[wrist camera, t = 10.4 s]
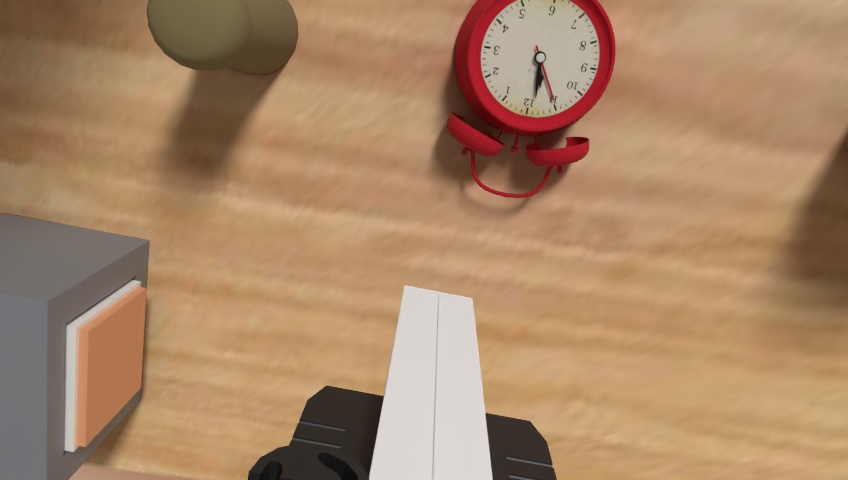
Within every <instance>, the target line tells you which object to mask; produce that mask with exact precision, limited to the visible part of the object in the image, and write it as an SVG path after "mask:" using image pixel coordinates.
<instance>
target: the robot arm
mask: <svg viewBox="0 0 848 480" xmlns="http://www.w3.org/2000/svg"><path fill="white" fill-rule="evenodd" d="M248 480H557V479H556V475H555V471H554V468H552V460H551V456H550V452H549V449H548V445H547V442H546V440H545V439H544V438H543V437H542V435H541V434H540V433H539V432H538V431H537V429H536V428H535V427H534V426H533V424H532V423H531V422H530V421H526V420H521V419H515V418H510V417H505V416H499V415H494V414H488V413H485V407H484V398H483V389H482V380H481V371H480V362H479V353H478V344H477V335H476V326H475V317H474V308H473V299H472V298H469V297H463V296H458V295H453V294H448V293H442V292H437V291H432V290H427V289H421V288H416V287H411V286H405V287H404V292H403V298H402V303H401V308H400V313H399V318H398V324H397V329H396V334H395V339H394V344H393V350H392V355H391V360H390V365H389V370H388V376H387V381H386V386H385V391H384V396H380V395H375V394H369V393H364V392H359V391H353V390H348V389H342V388H337V387H332V386H325V387H324V388H323V389H321V390H320V391H319V392H317V393H316V394H315V395H314V396H312V397H311V398H310V399H308V401H307V403H306V405H305V408H304V410H303V413H302V415H301V418H300V421H299V423H298V425H297V427H296V430H295V432H294V435H293V438H292V440H291V442H290V444H289V446H285V447H280V448H277V449H275V450H274V451H272V452H270V453H268V454H266V455H264V456H262V457H261V458H260V459H259V460H258V461H257V462H256V464H255V465H254V466H253V467H252V469H251V470H250V471H249V475H248Z"/></svg>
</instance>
